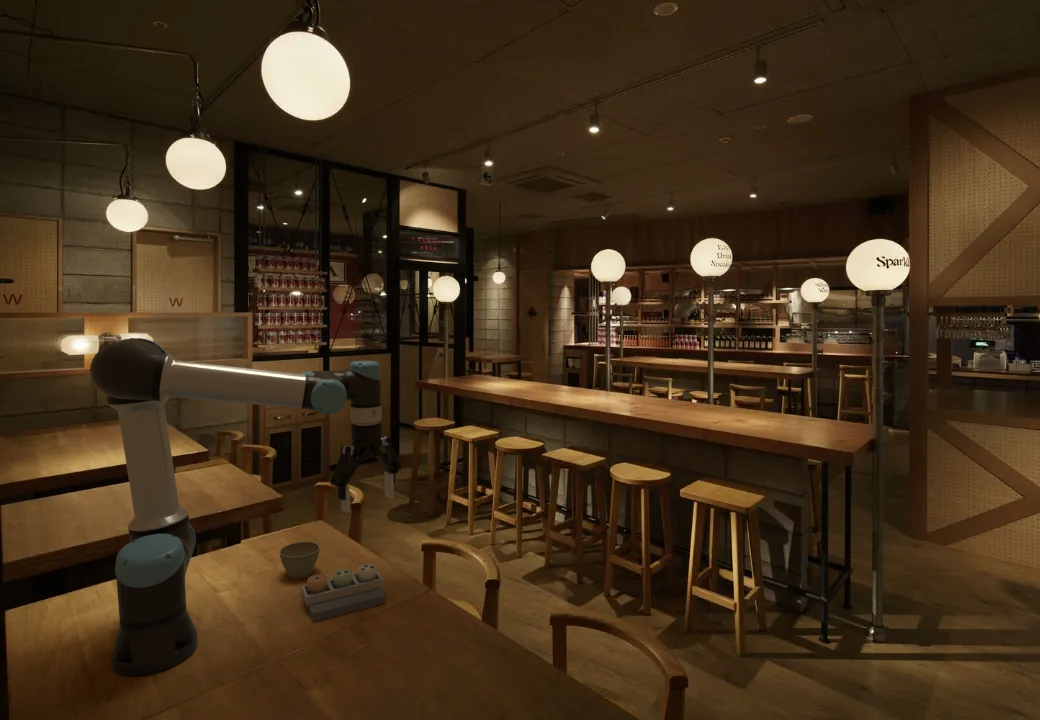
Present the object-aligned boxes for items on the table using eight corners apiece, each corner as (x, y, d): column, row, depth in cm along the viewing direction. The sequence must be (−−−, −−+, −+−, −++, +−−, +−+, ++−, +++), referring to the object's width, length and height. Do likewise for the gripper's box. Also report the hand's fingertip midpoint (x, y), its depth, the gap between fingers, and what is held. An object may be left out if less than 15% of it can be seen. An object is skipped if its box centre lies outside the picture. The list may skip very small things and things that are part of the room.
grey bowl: (307, 585, 149) (306, 558, 148) (272, 581, 151) (271, 555, 150) (327, 568, 159) (326, 542, 158) (294, 564, 161) (293, 539, 160)
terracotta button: (309, 594, 136) (309, 583, 136) (306, 586, 140) (305, 576, 140) (328, 590, 139) (328, 579, 138) (324, 582, 142) (324, 571, 142)
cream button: (360, 582, 142) (360, 572, 142) (355, 575, 146) (355, 565, 146) (378, 578, 144) (377, 568, 144) (373, 571, 148) (372, 561, 148)
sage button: (335, 588, 139) (335, 577, 139) (331, 580, 143) (331, 570, 143) (353, 584, 142) (353, 573, 141) (349, 576, 145) (349, 566, 145)
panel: (310, 622, 132) (309, 606, 131) (299, 593, 145) (298, 578, 144) (388, 602, 141) (388, 586, 140) (371, 576, 154) (370, 562, 153)
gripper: (332, 433, 133) (334, 522, 135) (414, 416, 153) (415, 494, 155) (313, 428, 138) (316, 514, 140) (395, 413, 157) (396, 488, 160)
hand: (368, 504), depth 148 cm, fingers open, 13 cm apart
